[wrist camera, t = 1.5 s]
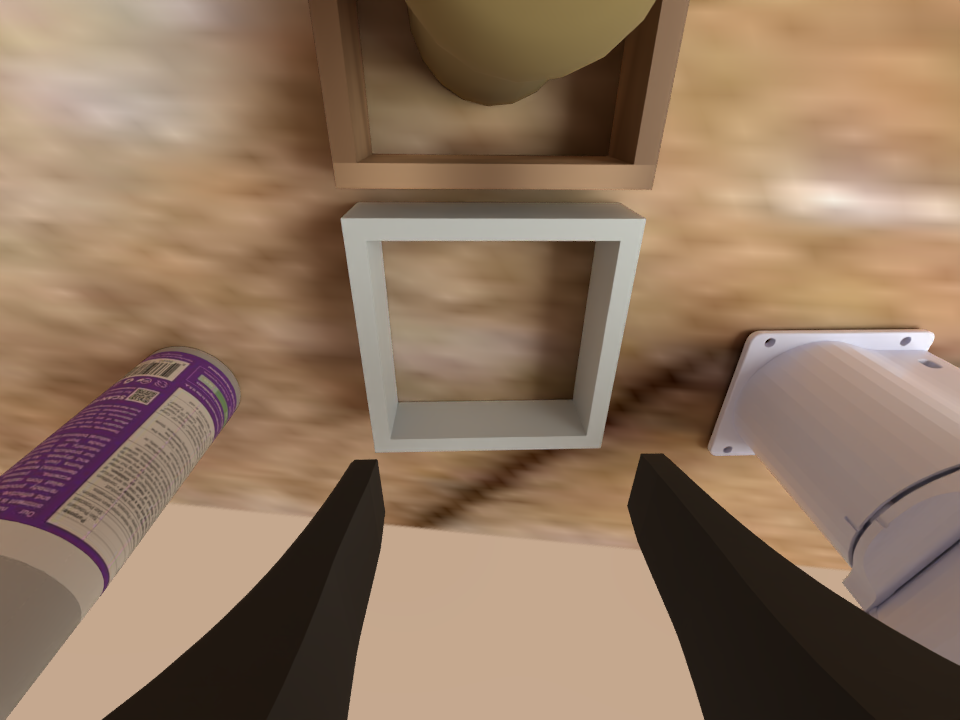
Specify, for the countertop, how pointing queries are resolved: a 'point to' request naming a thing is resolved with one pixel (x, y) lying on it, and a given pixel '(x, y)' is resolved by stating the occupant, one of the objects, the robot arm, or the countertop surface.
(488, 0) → the olive rounded piece
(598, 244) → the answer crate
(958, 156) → the countertop surface
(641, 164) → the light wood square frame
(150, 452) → the container
